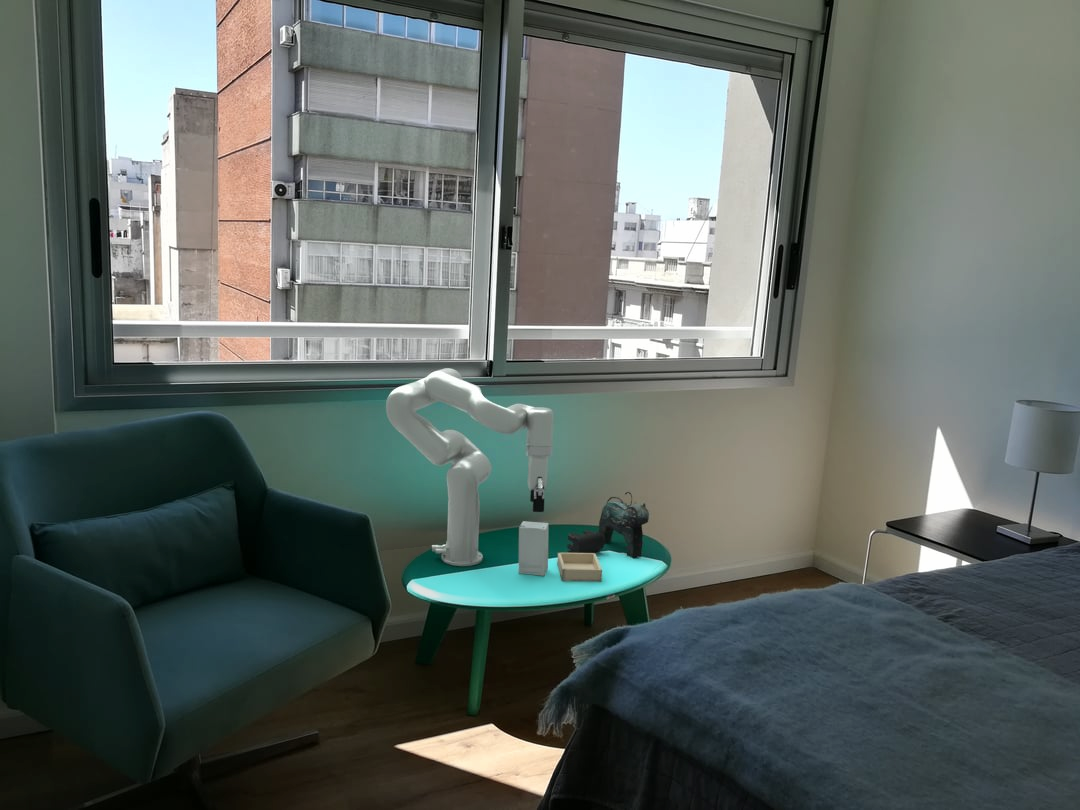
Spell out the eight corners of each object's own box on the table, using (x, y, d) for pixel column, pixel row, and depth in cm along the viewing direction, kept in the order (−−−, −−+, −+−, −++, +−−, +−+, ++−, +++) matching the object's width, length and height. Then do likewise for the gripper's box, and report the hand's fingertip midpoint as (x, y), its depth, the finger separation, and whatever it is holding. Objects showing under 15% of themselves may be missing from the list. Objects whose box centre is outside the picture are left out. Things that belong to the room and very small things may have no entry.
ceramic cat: (647, 558, 272) (652, 497, 269) (631, 561, 269) (636, 500, 265) (607, 538, 288) (612, 481, 284) (592, 541, 285) (596, 483, 281)
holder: (562, 581, 250) (562, 569, 250) (557, 563, 264) (557, 552, 263) (601, 581, 251) (602, 570, 251) (594, 564, 265) (595, 553, 264)
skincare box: (547, 569, 258) (550, 522, 255) (544, 577, 252) (547, 529, 250) (520, 566, 260) (523, 519, 257) (516, 573, 254) (518, 525, 251)
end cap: (579, 560, 268) (580, 539, 266) (565, 552, 273) (566, 532, 272) (603, 554, 273) (605, 534, 272) (590, 547, 279) (591, 527, 278)
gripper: (524, 442, 257) (522, 497, 260) (528, 457, 240) (526, 515, 243) (549, 443, 258) (546, 498, 261) (555, 457, 241) (552, 516, 244)
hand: (536, 506), depth 252 cm, fingers open, 9 cm apart
